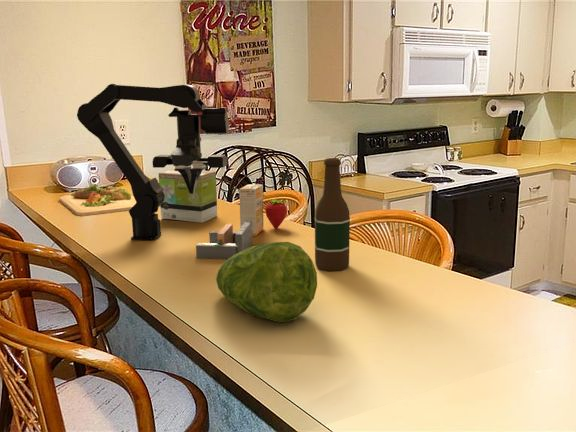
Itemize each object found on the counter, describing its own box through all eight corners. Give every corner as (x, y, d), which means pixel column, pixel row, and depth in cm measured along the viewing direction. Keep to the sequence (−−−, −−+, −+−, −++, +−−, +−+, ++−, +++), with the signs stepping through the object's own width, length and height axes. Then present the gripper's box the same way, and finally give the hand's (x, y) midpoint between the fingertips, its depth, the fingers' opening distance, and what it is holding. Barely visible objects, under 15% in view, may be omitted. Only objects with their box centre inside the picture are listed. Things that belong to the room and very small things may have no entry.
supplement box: (257, 236, 148) (256, 188, 145) (240, 236, 149) (238, 188, 146) (264, 229, 156) (263, 183, 153) (248, 228, 157) (246, 183, 154)
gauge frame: (196, 258, 129) (195, 233, 128) (211, 242, 143) (210, 220, 141) (242, 259, 128) (241, 234, 127) (252, 243, 142) (252, 220, 140)
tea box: (160, 219, 170) (156, 172, 166) (178, 213, 179) (175, 168, 176) (202, 223, 164) (199, 174, 161) (218, 216, 173) (216, 170, 170)
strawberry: (279, 224, 161) (278, 191, 159) (291, 230, 155) (291, 195, 153) (261, 227, 159) (260, 193, 156) (272, 232, 152) (272, 197, 150)
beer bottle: (326, 274, 117) (326, 161, 111) (308, 264, 123) (307, 158, 118) (356, 268, 120) (358, 159, 115) (337, 259, 127) (338, 155, 122)
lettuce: (253, 306, 111) (251, 241, 111) (331, 318, 92) (328, 240, 93) (190, 314, 102) (188, 243, 103) (263, 329, 84) (260, 243, 84)
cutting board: (150, 209, 188) (148, 188, 186) (78, 218, 176) (76, 195, 174) (121, 194, 217) (119, 175, 215) (58, 201, 205) (56, 181, 203)
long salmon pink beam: (215, 257, 128) (214, 236, 127) (227, 242, 140) (226, 223, 139) (222, 257, 128) (221, 236, 127) (233, 243, 140) (232, 224, 139)
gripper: (142, 137, 135) (146, 199, 139) (216, 136, 133) (218, 199, 137) (158, 133, 146) (161, 191, 150) (226, 133, 144) (228, 191, 147)
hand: (191, 193), depth 146 cm, fingers closed
